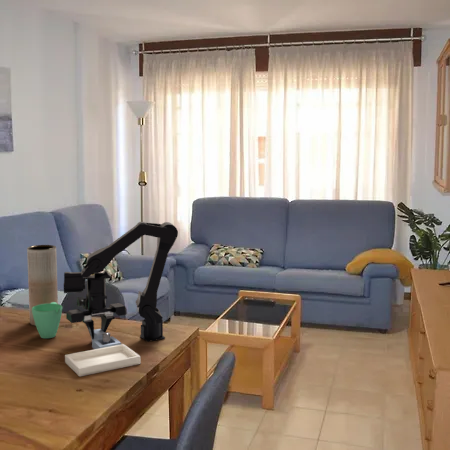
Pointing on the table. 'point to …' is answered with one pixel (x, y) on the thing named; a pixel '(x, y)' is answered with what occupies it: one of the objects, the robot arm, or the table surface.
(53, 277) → the vase
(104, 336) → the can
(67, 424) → the table surface
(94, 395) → the table surface
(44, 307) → the mug
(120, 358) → the tray
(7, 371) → the table surface
